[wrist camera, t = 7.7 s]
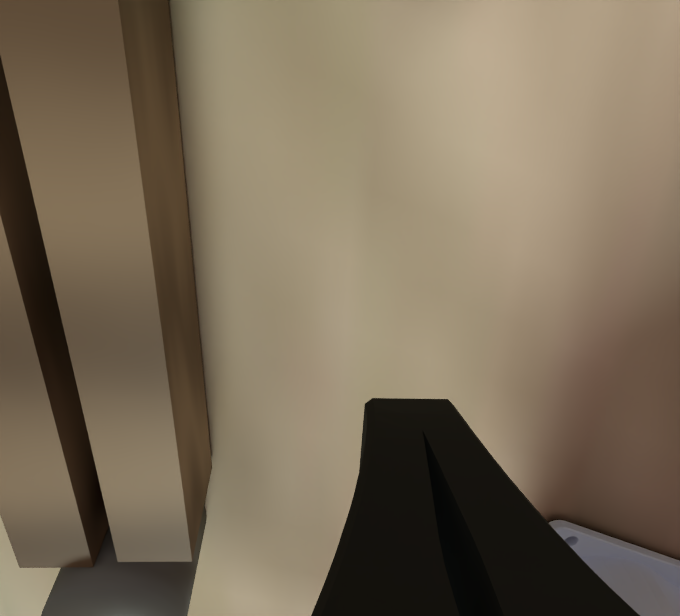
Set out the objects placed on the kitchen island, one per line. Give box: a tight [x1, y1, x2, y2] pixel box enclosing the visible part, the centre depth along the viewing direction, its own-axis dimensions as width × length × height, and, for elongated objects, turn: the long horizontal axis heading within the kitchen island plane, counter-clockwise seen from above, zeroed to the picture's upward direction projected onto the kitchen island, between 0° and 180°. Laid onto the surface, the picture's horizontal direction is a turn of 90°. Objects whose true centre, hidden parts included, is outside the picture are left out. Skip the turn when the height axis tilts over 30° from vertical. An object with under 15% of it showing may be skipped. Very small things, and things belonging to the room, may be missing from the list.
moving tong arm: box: [0, 0, 212, 562], centre depth 13 cm, size 18×3×4 cm, turn 177°
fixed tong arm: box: [0, 56, 206, 616], centre depth 14 cm, size 22×6×4 cm, turn 177°
